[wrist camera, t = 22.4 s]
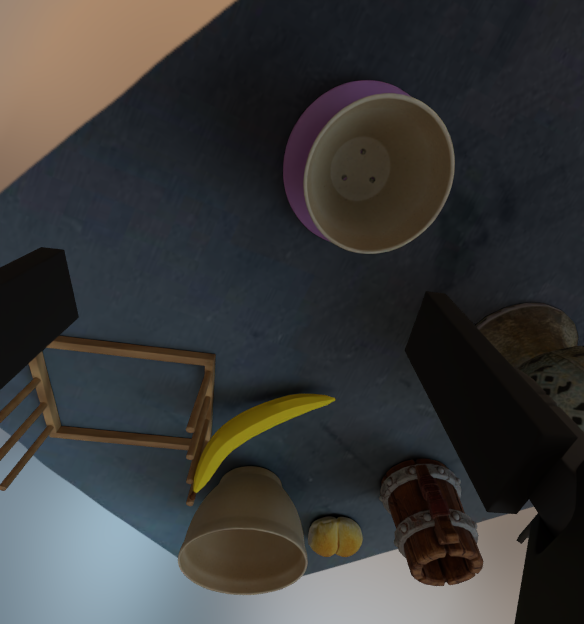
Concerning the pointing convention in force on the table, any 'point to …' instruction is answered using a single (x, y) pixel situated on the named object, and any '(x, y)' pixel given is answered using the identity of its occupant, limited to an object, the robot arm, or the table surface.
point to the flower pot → (379, 173)
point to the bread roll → (335, 536)
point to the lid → (308, 132)
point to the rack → (195, 446)
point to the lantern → (542, 351)
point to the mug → (431, 522)
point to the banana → (251, 430)
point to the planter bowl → (245, 536)
